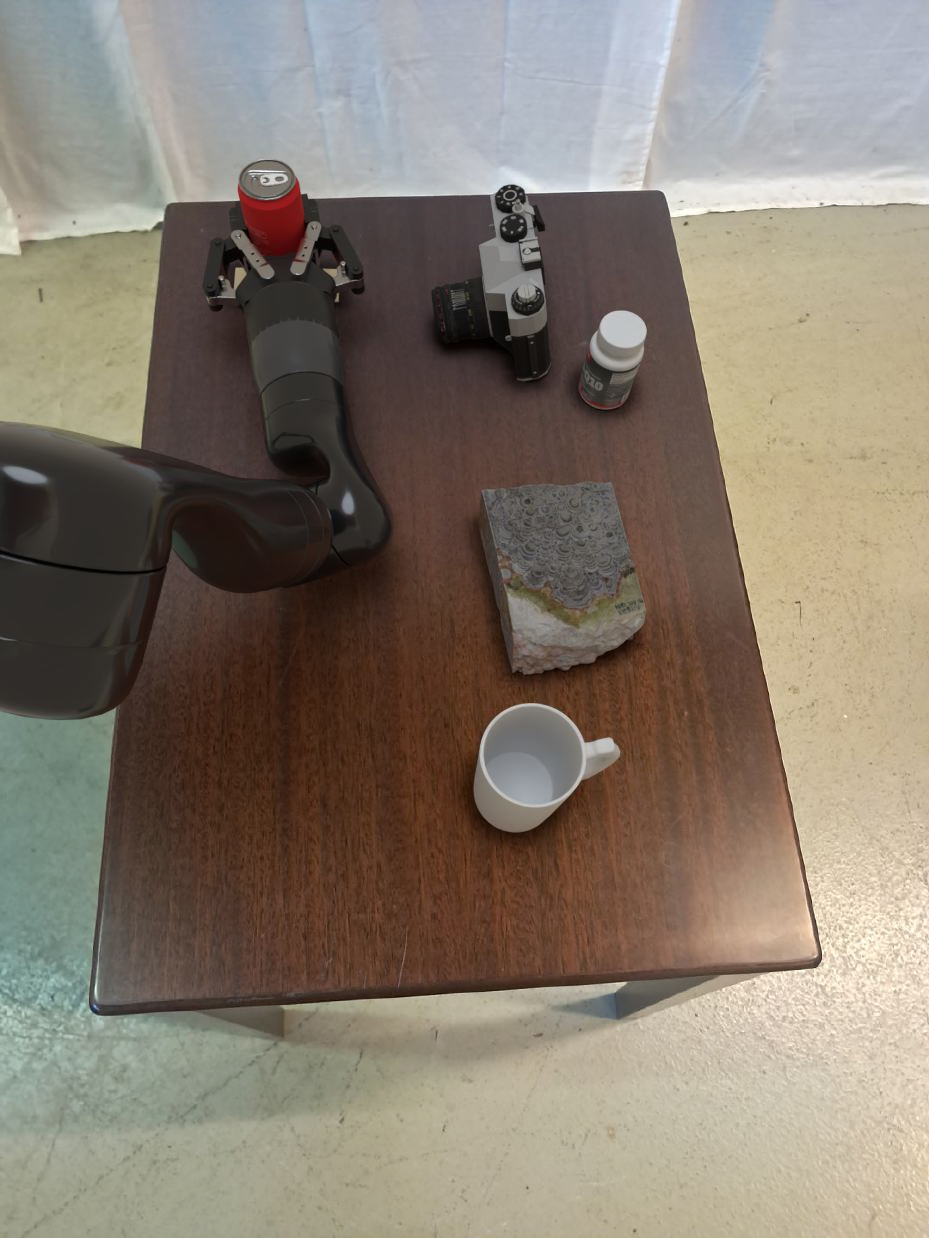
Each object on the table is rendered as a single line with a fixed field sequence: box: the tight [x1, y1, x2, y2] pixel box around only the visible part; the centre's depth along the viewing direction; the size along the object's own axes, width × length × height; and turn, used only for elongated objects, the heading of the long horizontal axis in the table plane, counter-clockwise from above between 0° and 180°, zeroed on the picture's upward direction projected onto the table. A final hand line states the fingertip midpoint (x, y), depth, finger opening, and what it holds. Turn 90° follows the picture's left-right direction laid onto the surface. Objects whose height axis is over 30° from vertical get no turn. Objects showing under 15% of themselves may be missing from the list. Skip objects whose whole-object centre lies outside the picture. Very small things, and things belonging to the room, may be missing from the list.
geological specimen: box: [478, 480, 647, 676], centre depth 70 cm, size 11×6×15 cm
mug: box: [473, 702, 621, 833], centre depth 61 cm, size 10×7×12 cm, turn 100°
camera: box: [430, 183, 552, 382], centre depth 79 cm, size 15×11×10 cm
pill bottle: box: [578, 310, 648, 411], centre depth 77 cm, size 5×5×8 cm
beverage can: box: [237, 158, 306, 256], centre depth 78 cm, size 5×5×12 cm
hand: (272, 205), depth 78 cm, fingers closed on beverage can, 5 cm apart
